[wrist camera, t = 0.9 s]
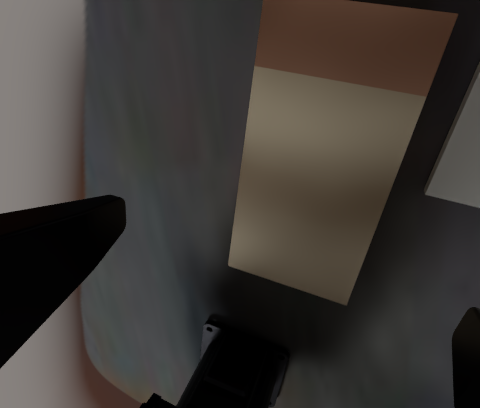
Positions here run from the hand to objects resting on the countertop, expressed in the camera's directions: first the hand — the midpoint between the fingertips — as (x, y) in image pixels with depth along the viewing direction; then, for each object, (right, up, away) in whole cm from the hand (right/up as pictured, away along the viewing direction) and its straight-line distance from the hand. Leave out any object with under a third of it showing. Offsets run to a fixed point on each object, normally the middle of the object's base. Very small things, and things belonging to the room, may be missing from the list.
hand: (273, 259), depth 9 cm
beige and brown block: (+3, +4, +8) cm, 10 cm away
